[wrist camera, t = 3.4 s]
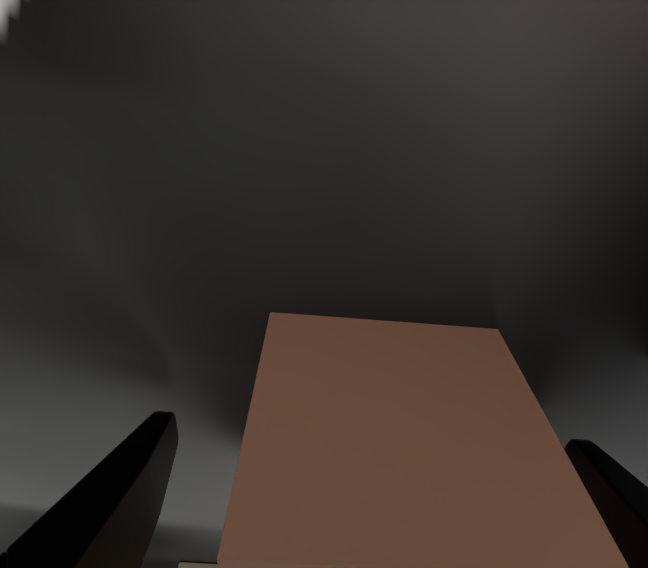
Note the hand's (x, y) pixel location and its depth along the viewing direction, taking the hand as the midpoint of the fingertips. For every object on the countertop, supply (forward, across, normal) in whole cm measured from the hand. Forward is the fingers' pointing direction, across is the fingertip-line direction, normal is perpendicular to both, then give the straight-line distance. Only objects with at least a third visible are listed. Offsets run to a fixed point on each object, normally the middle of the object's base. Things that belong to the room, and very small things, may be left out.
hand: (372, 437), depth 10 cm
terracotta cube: (+1, 0, 0) cm, 1 cm away
